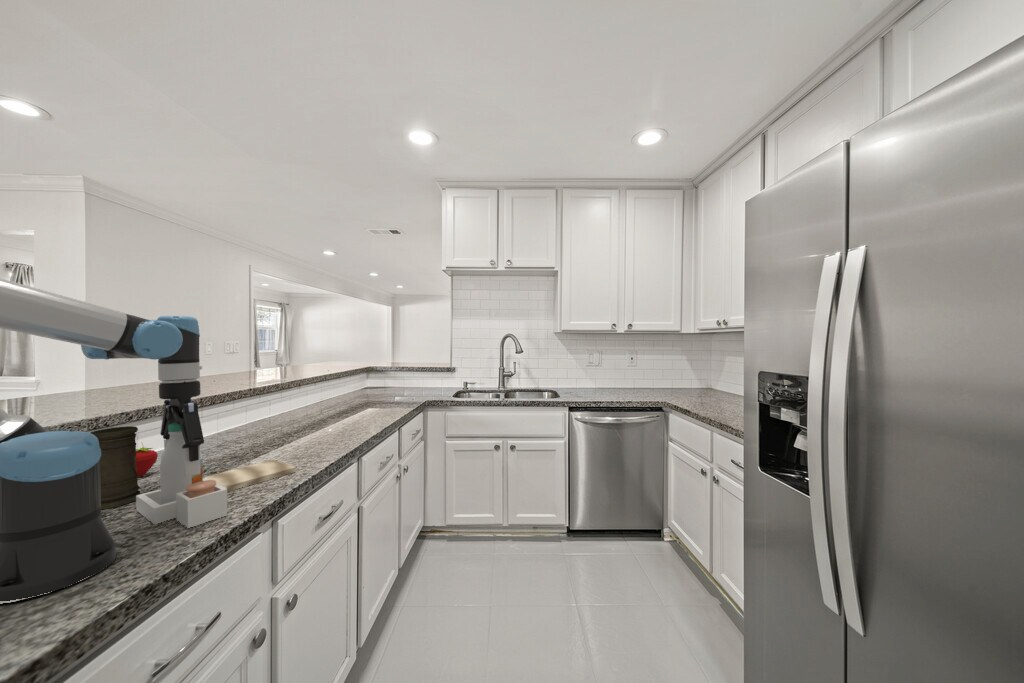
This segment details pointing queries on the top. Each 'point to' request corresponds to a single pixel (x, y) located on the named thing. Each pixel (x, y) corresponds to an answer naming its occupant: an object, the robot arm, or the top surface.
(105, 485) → the container
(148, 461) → the strawberry
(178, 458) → the milk bottle
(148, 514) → the dock
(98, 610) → the top surface
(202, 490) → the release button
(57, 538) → the robot arm
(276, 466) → the ash board
